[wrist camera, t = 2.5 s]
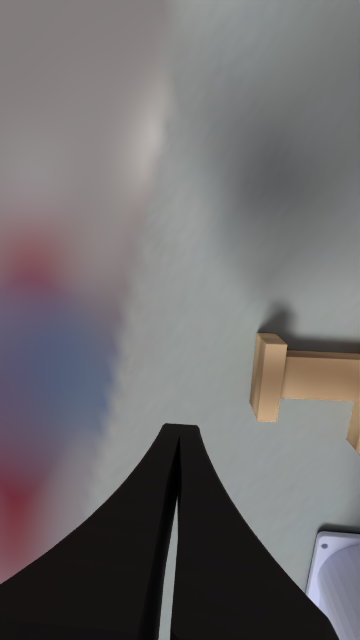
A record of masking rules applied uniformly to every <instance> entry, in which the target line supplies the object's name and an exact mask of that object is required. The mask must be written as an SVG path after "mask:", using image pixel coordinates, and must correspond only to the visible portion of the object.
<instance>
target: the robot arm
mask: <svg viewBox="0 0 360 640" xmlns="http://www.w3.org/2000/svg"><path fill="white" fill-rule="evenodd" d="M176 502H177V504H178V544H177V557H176V569H175V581H174V593H173V605H172V617H171V629H170V640H360V534H350V533H339V532H327V531H322V532H319V533H318V535H317V538H316V543H315V549H314V554H313V559H312V564H311V569H310V574H309V579H308V584H307V589H306V594H305V593H304V592H303V591H302V590H301V589H300V588H299V587H298V586H297V585H296V584H295V582H294V581H293V580H292V579H291V578H290V577H289V576H288V574H287V573H286V572H285V571H284V570H283V569H282V568H281V566H280V565H279V564H278V563H277V562H276V561H275V559H274V558H273V557H272V556H271V554H270V553H269V552H268V550H267V549H266V548H265V547H264V545H263V544H262V543H261V542H260V540H259V539H258V538H257V536H256V535H255V534H254V533H253V531H252V530H251V529H250V527H249V526H248V524H247V523H246V521H245V520H244V519H243V517H242V516H241V514H240V513H239V511H238V510H237V508H236V507H235V505H234V503H233V502H232V500H231V499H230V497H229V495H228V494H227V492H226V490H225V488H224V487H223V485H222V483H221V481H220V479H219V477H218V475H217V473H216V471H215V469H214V467H213V465H212V463H211V461H210V459H209V456H208V454H207V452H206V449H205V446H204V444H203V441H202V438H201V434H200V429H199V427H198V426H197V425H184V424H169V423H165V424H164V425H163V426H162V428H161V430H160V432H159V434H158V436H157V437H156V439H155V441H154V442H153V444H152V445H151V447H150V448H149V450H148V451H147V453H146V454H145V456H144V457H143V458H142V460H141V461H140V463H139V464H138V465H137V466H136V468H135V469H134V470H133V471H132V473H131V474H130V475H129V476H128V478H127V479H126V480H125V481H124V482H123V483H122V485H121V486H120V487H119V488H118V489H117V490H116V491H115V492H114V493H113V494H112V495H111V496H110V497H109V499H108V500H107V501H106V502H105V503H103V504H102V505H101V506H100V507H99V508H98V509H97V510H96V511H95V512H94V513H93V514H92V515H91V516H90V517H89V518H88V519H87V520H85V521H84V522H83V523H82V524H81V525H80V526H79V527H77V528H76V529H75V530H74V531H72V532H71V533H70V534H69V535H67V536H66V537H65V538H64V539H63V540H61V541H60V542H59V543H58V544H56V545H55V546H54V547H53V548H52V549H50V550H49V551H48V552H46V553H45V554H44V555H42V556H41V557H39V558H38V559H37V560H35V561H34V562H32V563H31V564H29V565H28V566H26V567H25V568H24V569H22V570H21V571H19V572H18V573H16V574H15V575H14V576H13V577H11V578H9V579H8V580H6V581H5V582H3V583H2V584H0V640H158V638H159V627H160V616H161V605H162V594H163V584H164V576H165V568H166V562H167V556H168V550H169V544H170V538H171V532H172V526H173V520H174V514H175V508H176Z"/></svg>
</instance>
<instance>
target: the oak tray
mask: <svg viewBox="0 0 360 640" xmlns="http://www.w3.org/2000/svg"><path fill="white" fill-rule="evenodd" d="M280 398H294V399H315V400H335V401H354V404H353V409H352V414H351V419H350V424H349V428H348V433H347V438H346V439H347V441H348V442H349V443H350V444H351V445H352V446H353V448H354V449H355V450H356V451H357V452H358V454H359V455H360V354H357V353H338V352H316V351H293V350H287V344H286V343H285V342H284V341H283V340H282V339H281V338H280V337H279V336H278V335H276V334H272V333H257V336H256V346H255V355H254V365H253V375H252V384H251V394H250V404H251V407H252V409H253V412H254V414H255V417H256V419H257V421H264V422H277V418H278V411H279V403H280Z"/></svg>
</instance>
